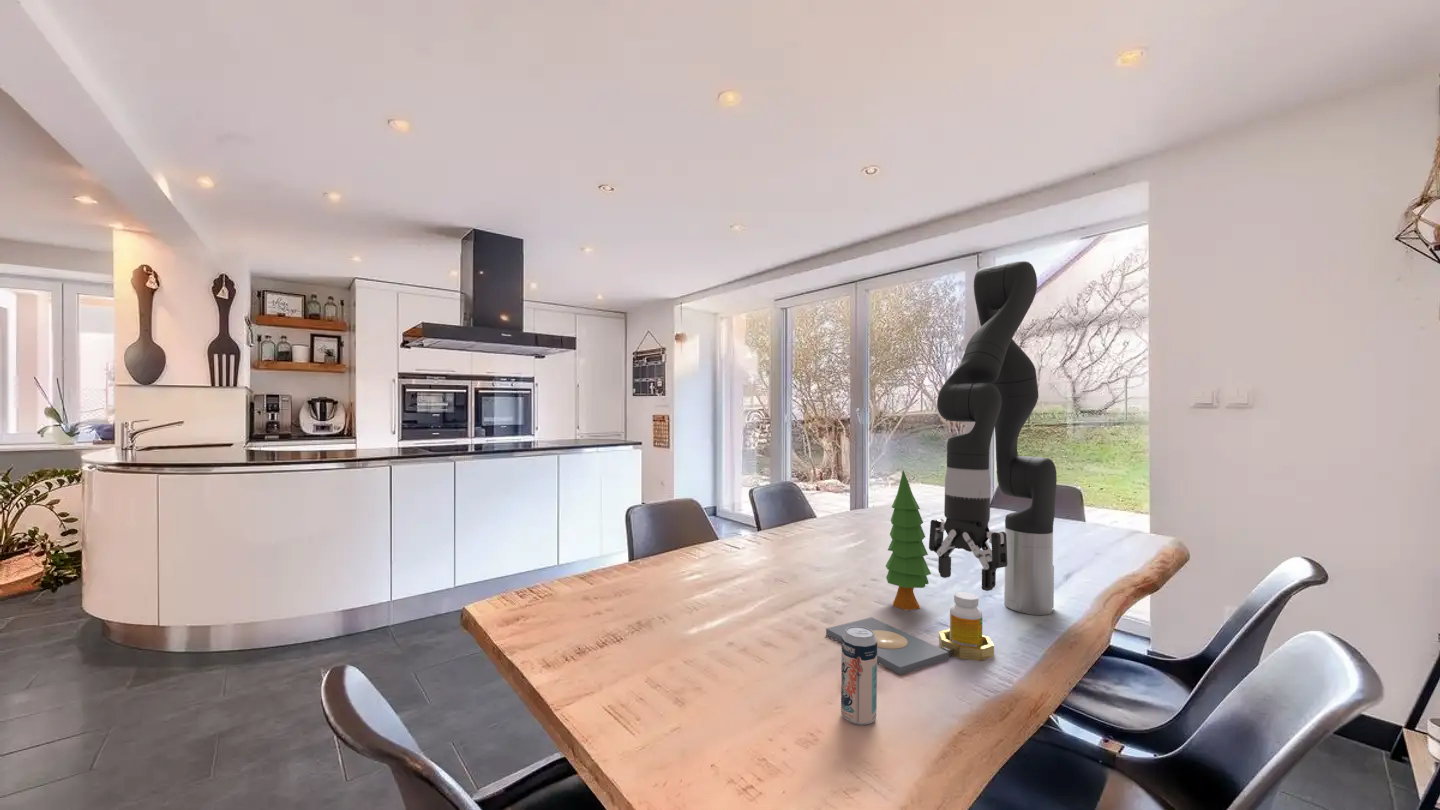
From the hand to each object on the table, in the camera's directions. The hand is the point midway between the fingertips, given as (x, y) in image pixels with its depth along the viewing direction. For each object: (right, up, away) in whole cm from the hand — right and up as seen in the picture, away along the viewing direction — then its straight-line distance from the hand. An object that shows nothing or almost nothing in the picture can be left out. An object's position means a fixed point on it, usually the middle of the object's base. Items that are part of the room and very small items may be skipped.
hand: (965, 583), depth 99 cm
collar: (0, -12, 0) cm, 12 cm away
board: (-14, -12, +1) cm, 19 cm away
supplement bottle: (0, -12, 0) cm, 12 cm away
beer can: (-25, -12, -23) cm, 36 cm away
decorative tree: (-3, -12, +23) cm, 26 cm away
